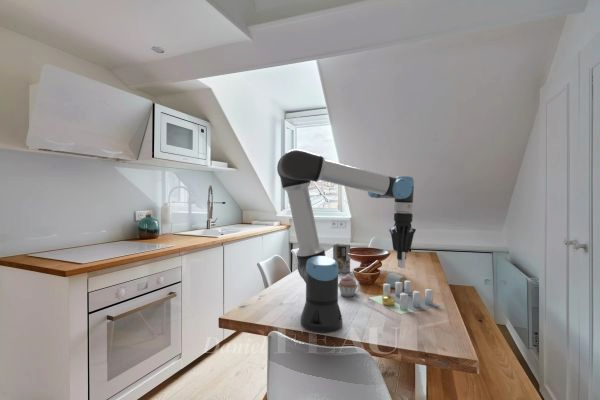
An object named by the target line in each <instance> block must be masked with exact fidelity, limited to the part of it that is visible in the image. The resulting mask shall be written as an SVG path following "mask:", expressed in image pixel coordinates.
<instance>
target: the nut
mask: <svg viewBox="0 0 600 400" xmlns="http://www.w3.org/2000/svg"><path fill="white" fill-rule="evenodd" d="M382 304H383V305H384V306H383V305H382V306H383V307H385V306H388V307H392V306H394V305H395V298H394V297H393V296H389V295H384V296H382Z"/></svg>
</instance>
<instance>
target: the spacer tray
mask: <svg viewBox="0 0 600 400" xmlns="http://www.w3.org/2000/svg"><path fill="white" fill-rule="evenodd" d="M382 289H383V291H382V292H383V293H382V295H376V296H370V297H368V299H370V300H372V301H374V302H376V303H377V304H379V305H381V306H383V307H385V308H387V309H389V310H391V311H392V312H395V313H397V314H399V315H404V314H408V313H409V314H411V313H413V312H419V311H423V310H427V309H433V308H438V307H441V305H440V304H437V303H435V302H434V300H433V299H434V290H433V289H430V288H425V290H424V294H425V296H424V298H423V297H422V293H421V291H418V290H413V291H412V280H407V281H405V289H403V290H402V282H396V284H395V288H394V289H395V292H394V293H391V287H390V284H386V283H383V287H382ZM384 295H389V296H393V297H394V298H395V305H394V306H392V307H388V306H384V305H383V304H382V296H384Z"/></svg>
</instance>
